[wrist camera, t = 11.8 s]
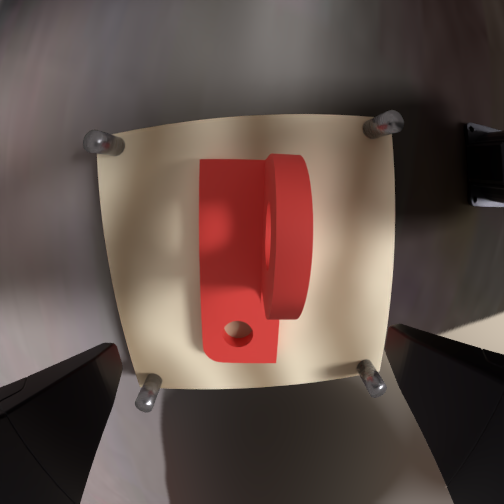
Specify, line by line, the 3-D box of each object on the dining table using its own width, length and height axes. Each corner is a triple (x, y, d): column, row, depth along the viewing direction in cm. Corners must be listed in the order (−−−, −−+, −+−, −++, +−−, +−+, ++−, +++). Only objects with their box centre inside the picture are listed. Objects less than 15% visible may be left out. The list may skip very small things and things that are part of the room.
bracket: (202, 160, 16) (164, 143, 8) (284, 162, 16) (317, 145, 8) (205, 352, 19) (186, 441, 11) (274, 353, 19) (288, 444, 11)
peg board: (380, 122, 17) (414, 109, 12) (372, 360, 21) (394, 395, 16) (106, 140, 17) (71, 132, 12) (145, 375, 21) (128, 412, 16)
